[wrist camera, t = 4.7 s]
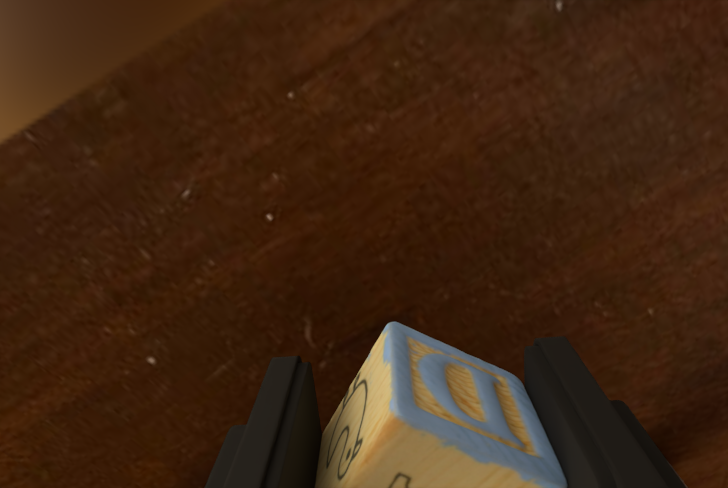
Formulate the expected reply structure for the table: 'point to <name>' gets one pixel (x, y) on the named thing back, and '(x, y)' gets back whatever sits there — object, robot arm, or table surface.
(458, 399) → the alphabet block
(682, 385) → the table surface
